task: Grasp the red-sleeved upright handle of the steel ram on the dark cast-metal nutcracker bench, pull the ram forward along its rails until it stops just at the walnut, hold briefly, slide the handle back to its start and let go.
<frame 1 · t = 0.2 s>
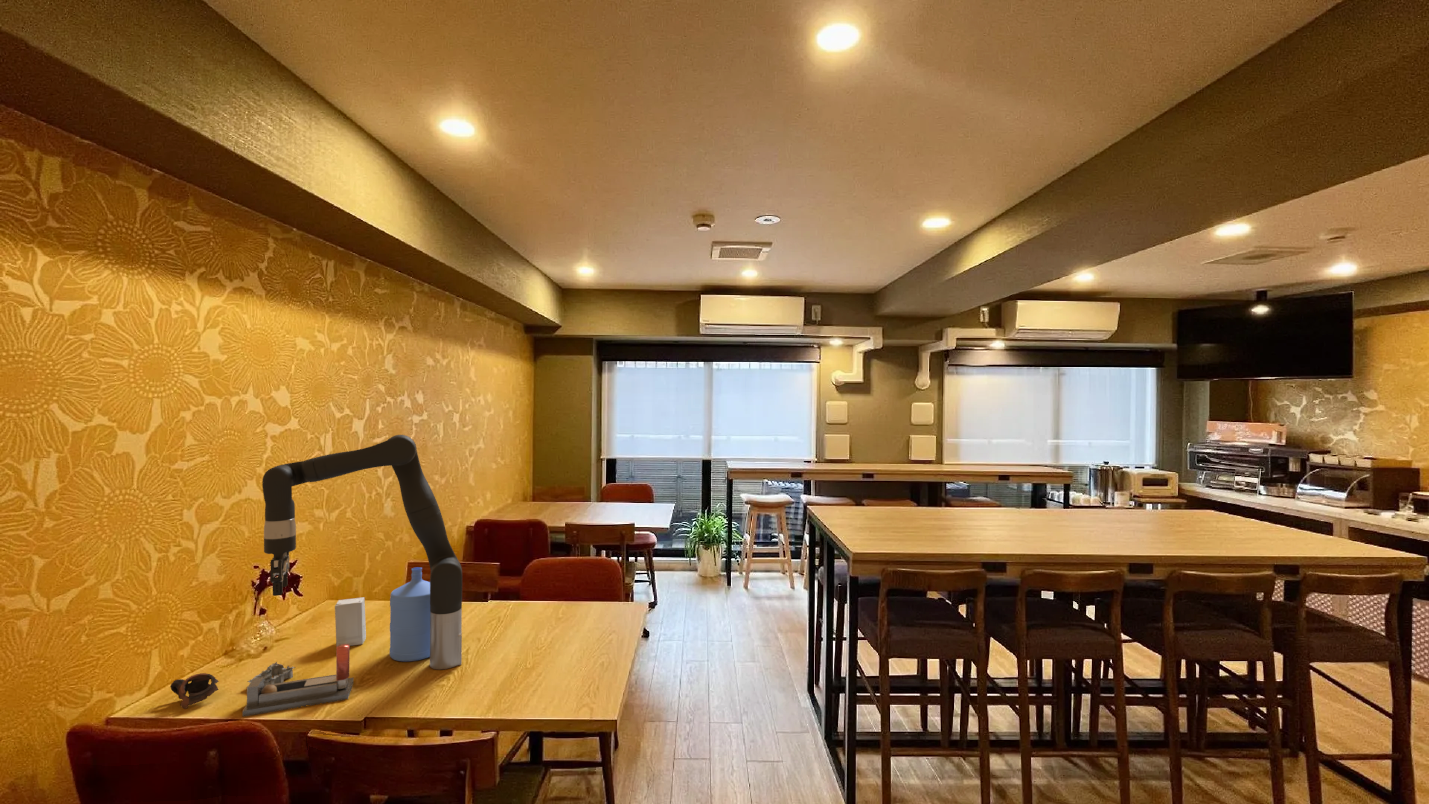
hand: (280, 591, 174), 29 cm above the table, fingers open, 8 cm apart
bench: (301, 698, 169), on the table
ram: (327, 668, 172), point 8 cm above the table, slide at 0.0 cm
walnut: (268, 703, 166), resting on bench
egg carton: (272, 683, 179), on the table
skincare box: (350, 644, 208), on the table
dark brown hollow piece: (194, 701, 168), on the table
water jug: (416, 653, 201), on the table
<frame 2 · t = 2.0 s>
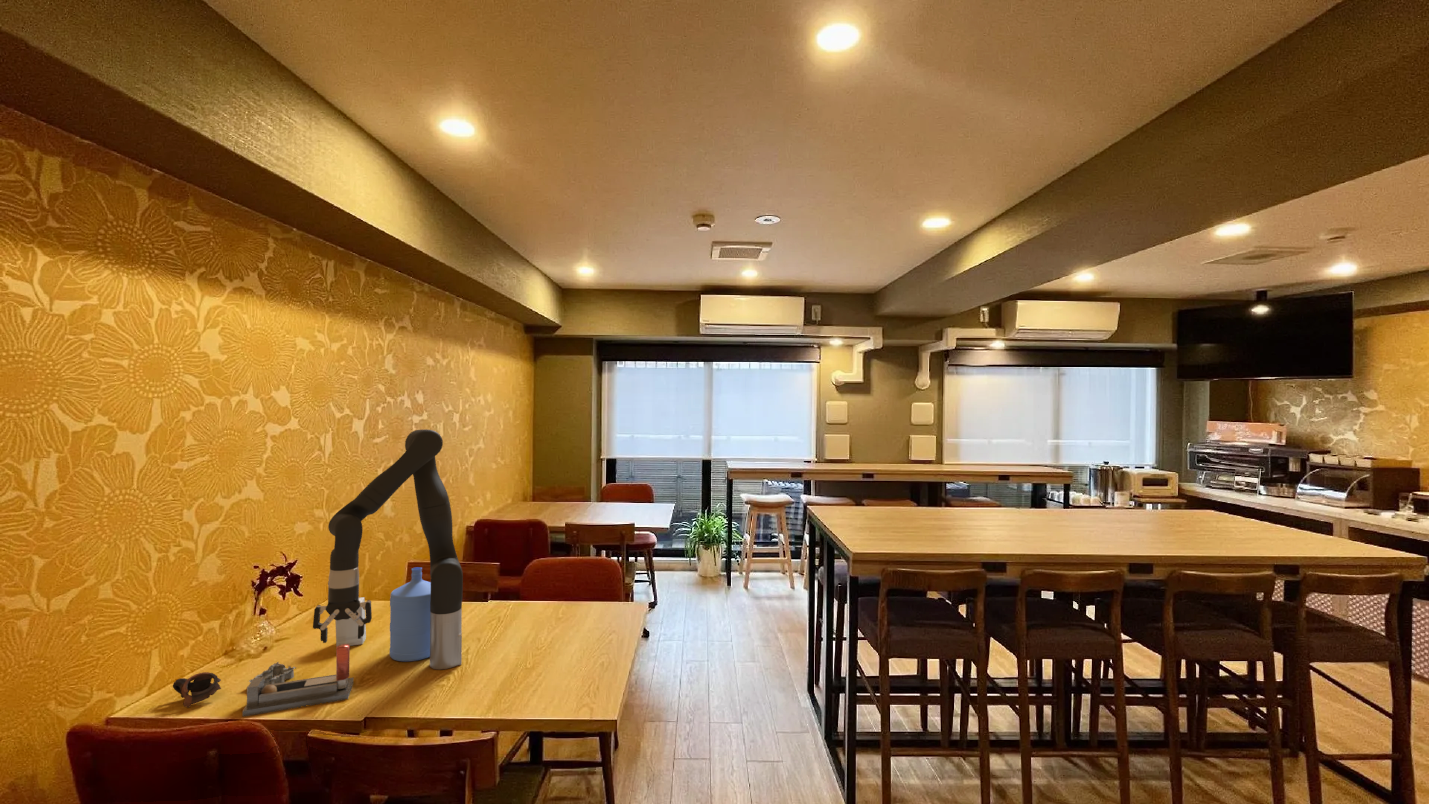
hand: (342, 640, 173), 15 cm above the table, fingers open, 8 cm apart
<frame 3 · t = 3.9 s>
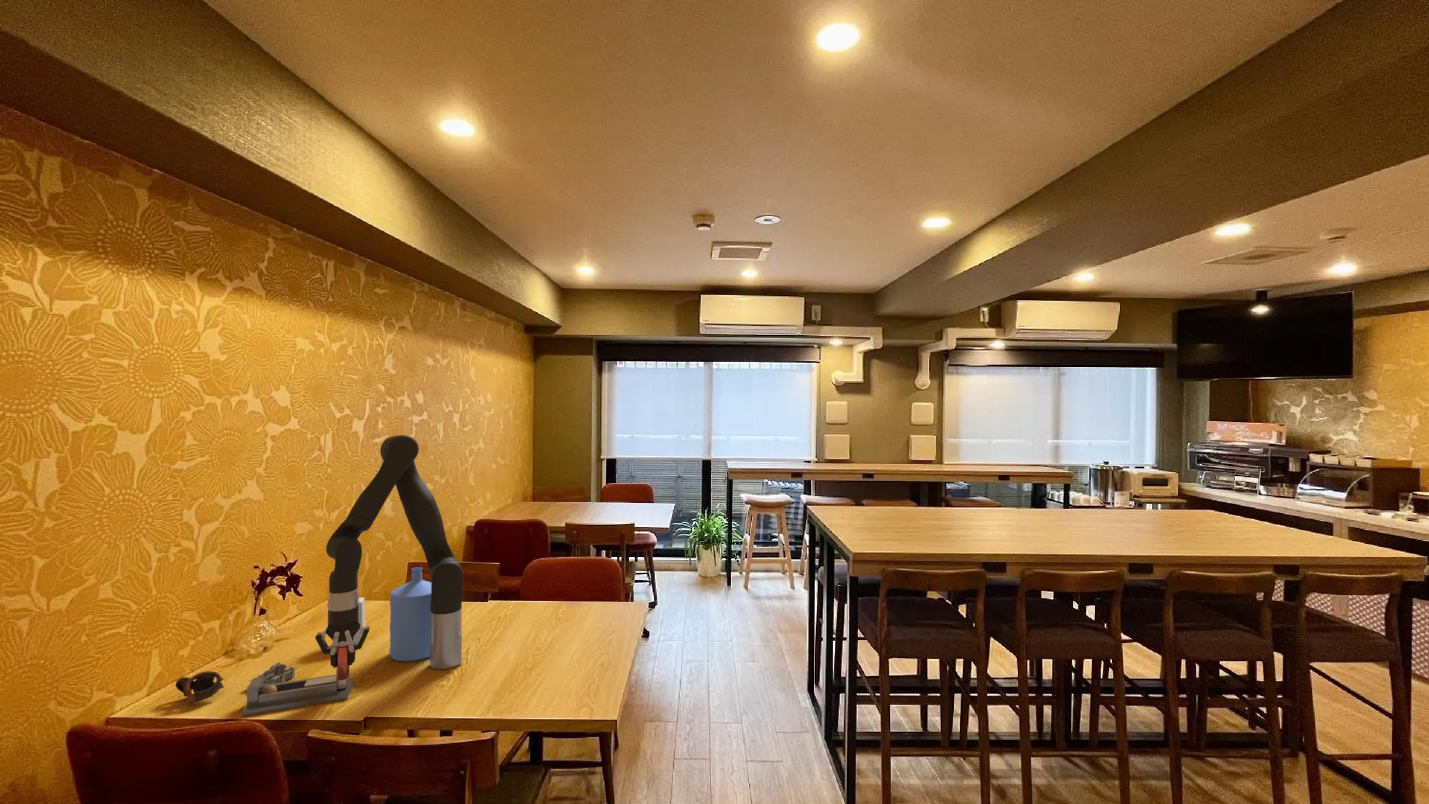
hand: (342, 665, 173), 8 cm above the table, fingers closed on ram, 3 cm apart
ram: (327, 668, 172), point 8 cm above the table, slide at 0.0 cm, touching gripper
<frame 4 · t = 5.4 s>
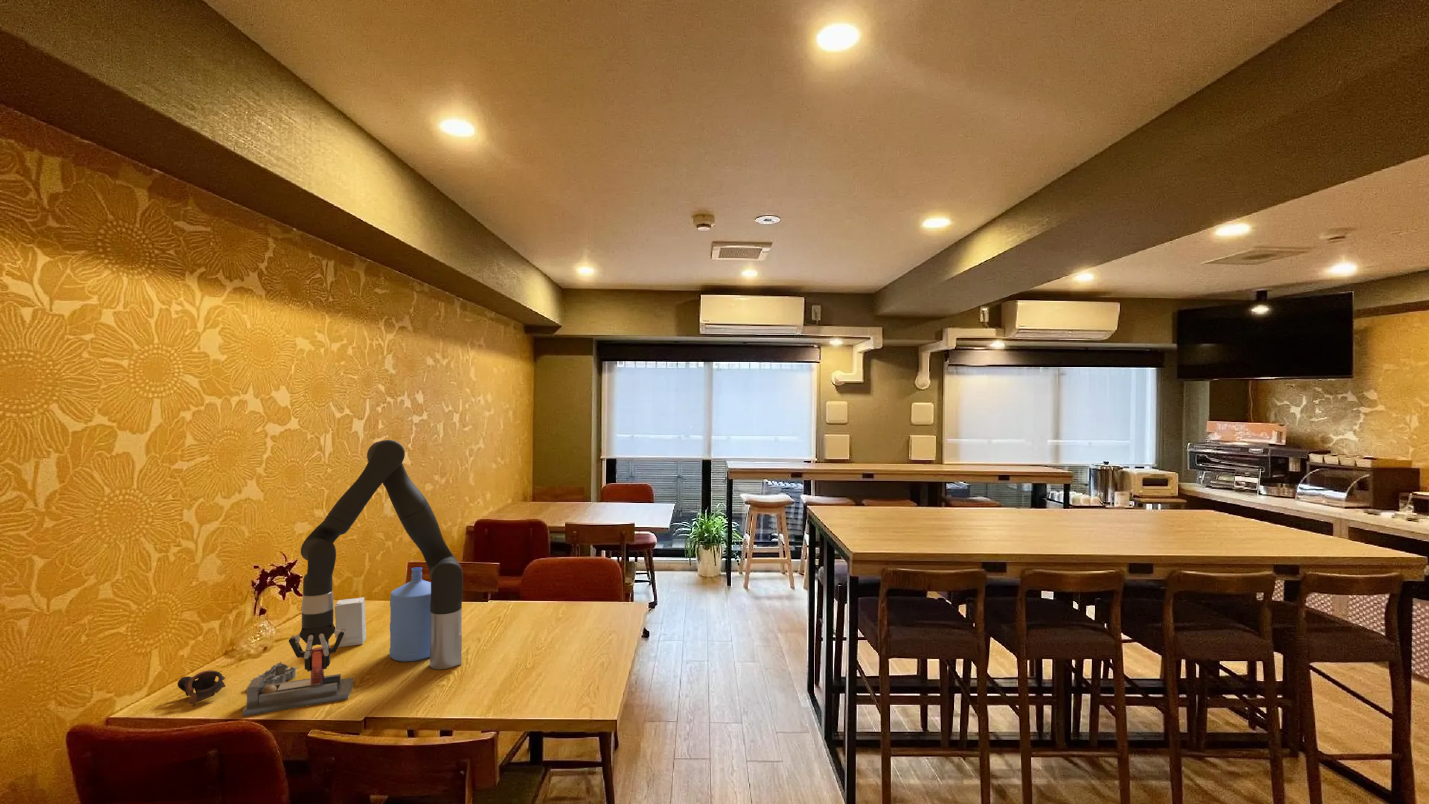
hand: (317, 668, 171), 8 cm above the table, fingers closed on ram, 3 cm apart
ram: (301, 671, 169), point 8 cm above the table, slide at 6.2 cm, touching gripper
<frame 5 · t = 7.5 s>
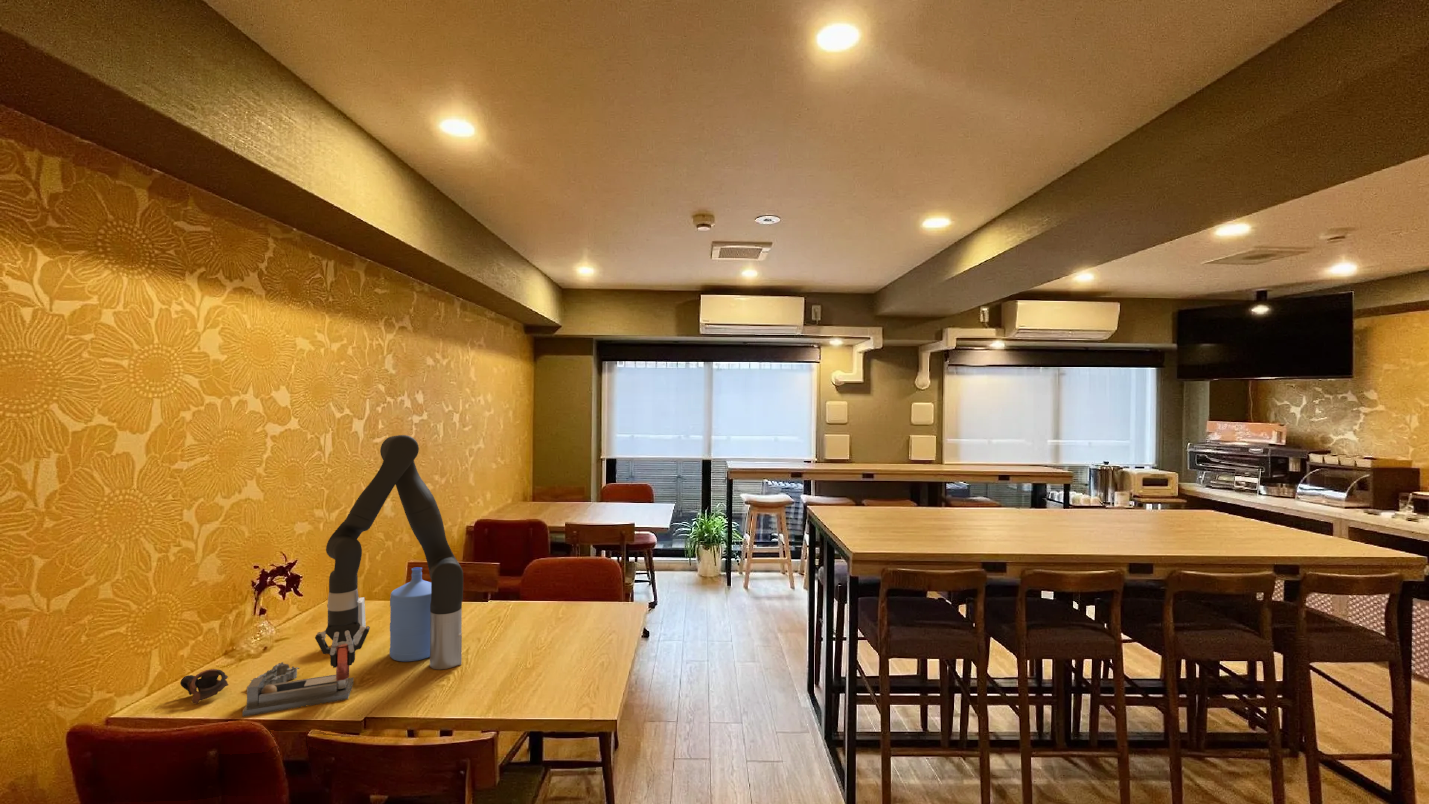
hand: (342, 665, 173), 8 cm above the table, fingers closed on ram, 3 cm apart
ram: (327, 668, 172), point 8 cm above the table, slide at 0.0 cm, touching gripper
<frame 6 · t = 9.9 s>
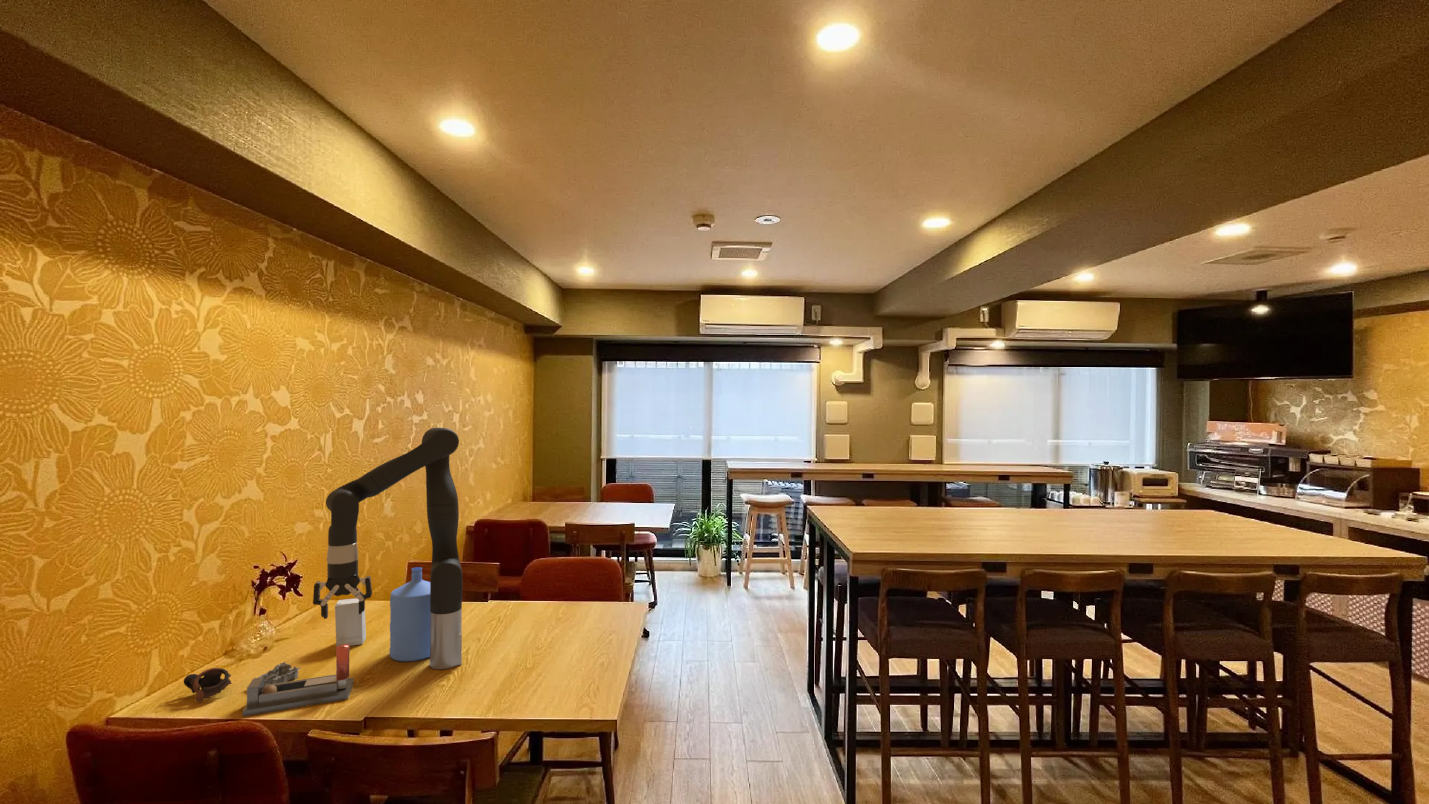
hand: (343, 615, 173), 22 cm above the table, fingers open, 8 cm apart
ram: (327, 668, 172), point 8 cm above the table, slide at 0.0 cm
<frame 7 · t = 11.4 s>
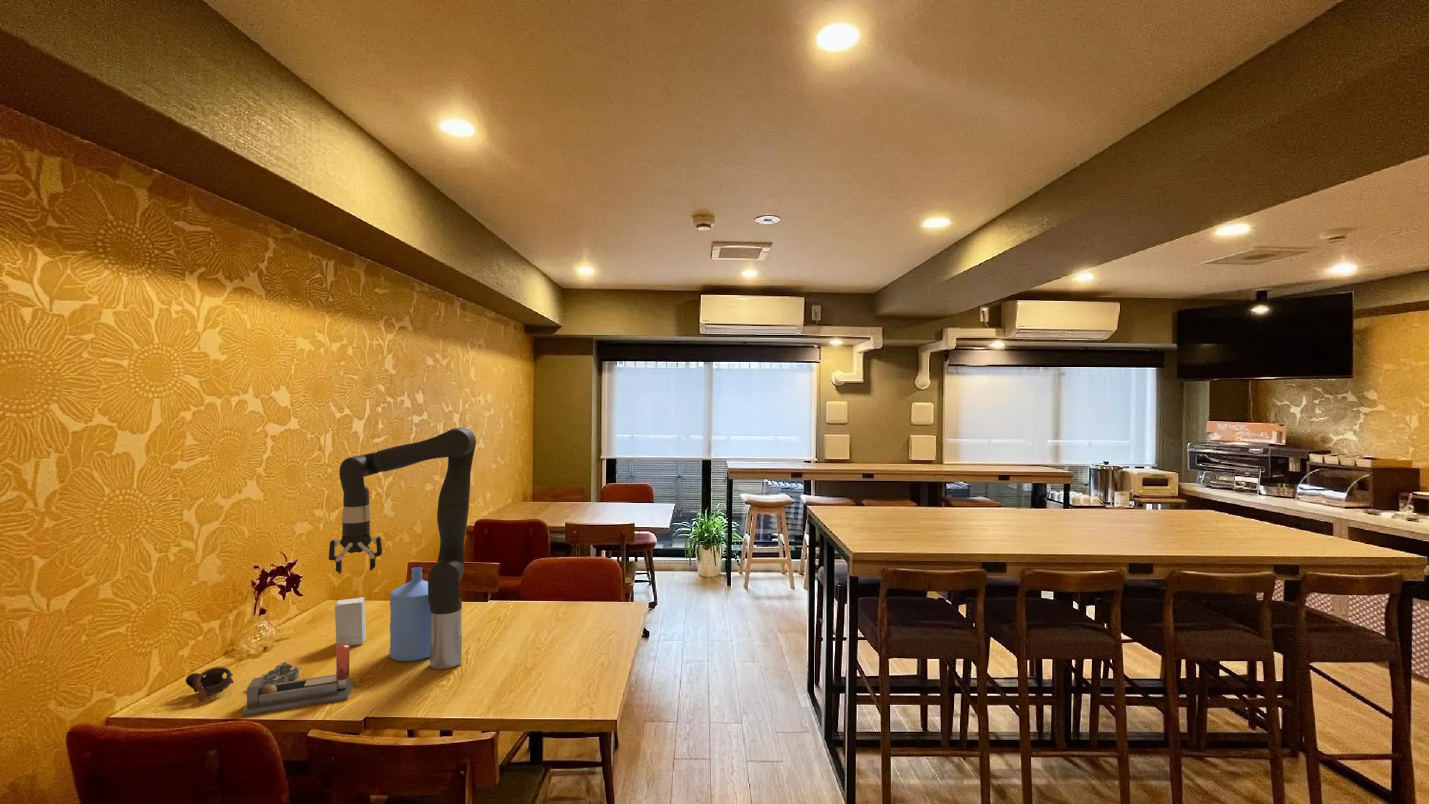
hand: (355, 571, 189), 30 cm above the table, fingers open, 8 cm apart
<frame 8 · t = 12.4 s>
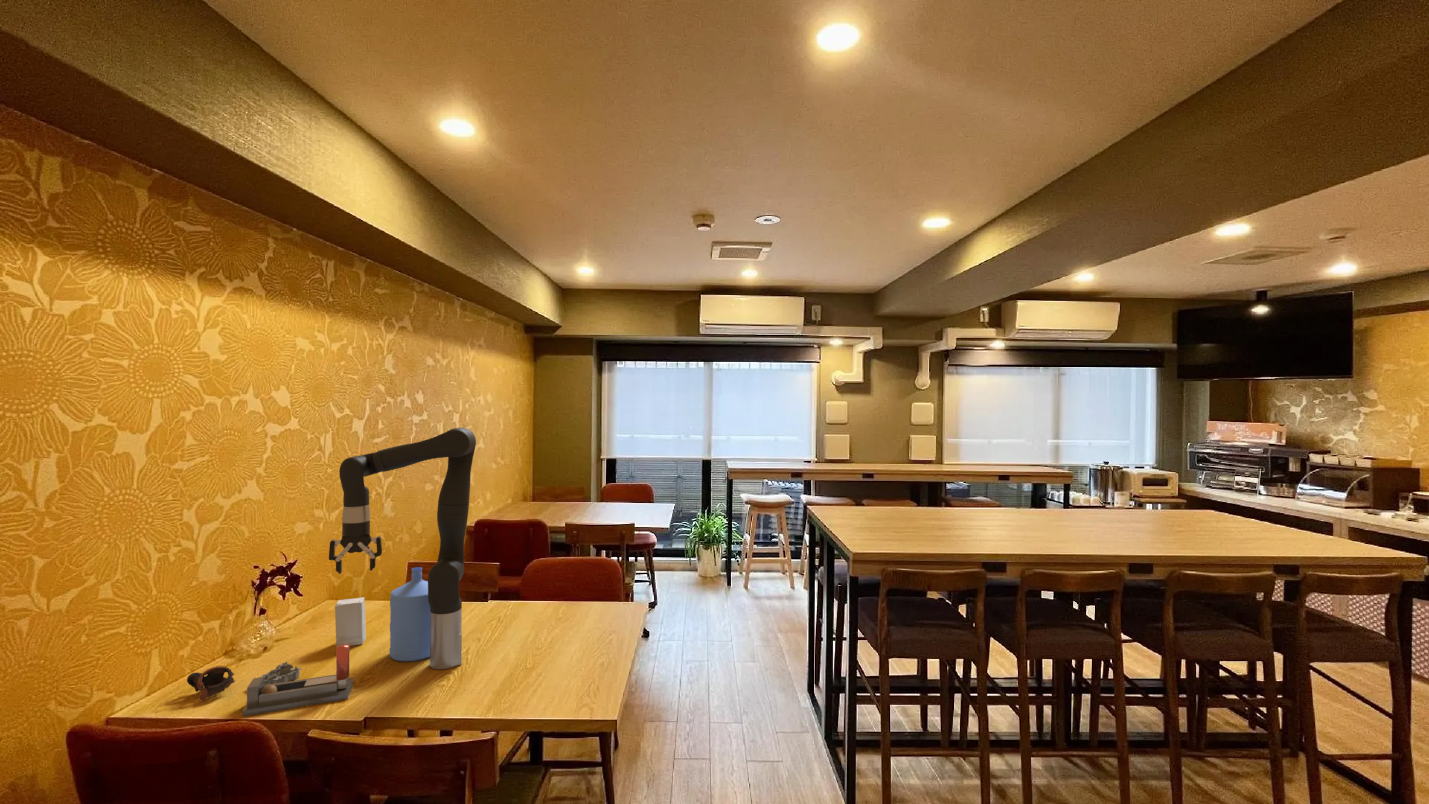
hand: (355, 571, 189), 30 cm above the table, fingers open, 8 cm apart
at the end: ram slide at 0.0 cm; the gripper is holding nothing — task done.
